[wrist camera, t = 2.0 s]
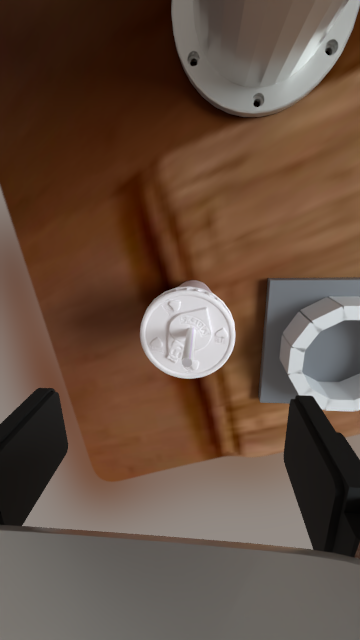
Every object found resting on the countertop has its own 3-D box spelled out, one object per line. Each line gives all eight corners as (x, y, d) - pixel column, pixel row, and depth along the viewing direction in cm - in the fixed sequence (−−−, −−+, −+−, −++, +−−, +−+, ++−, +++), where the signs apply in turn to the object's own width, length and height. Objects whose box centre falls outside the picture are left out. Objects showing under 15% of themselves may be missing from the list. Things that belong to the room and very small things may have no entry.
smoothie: (239, 289, 26) (272, 355, 13) (203, 340, 29) (200, 441, 15) (182, 252, 26) (157, 285, 13) (149, 308, 28) (98, 385, 15)
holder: (268, 278, 26) (278, 287, 22) (417, 277, 25) (455, 286, 21) (258, 396, 30) (265, 421, 26) (385, 400, 29) (412, 427, 25)
